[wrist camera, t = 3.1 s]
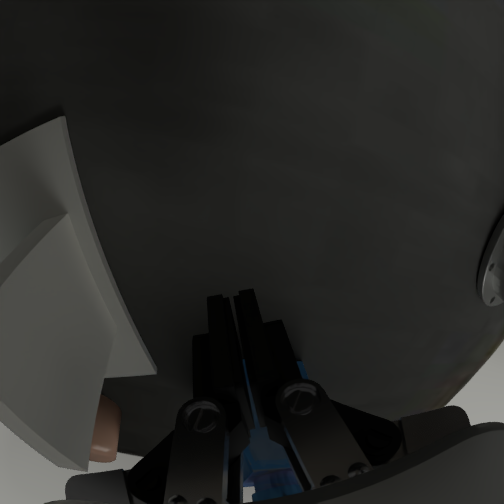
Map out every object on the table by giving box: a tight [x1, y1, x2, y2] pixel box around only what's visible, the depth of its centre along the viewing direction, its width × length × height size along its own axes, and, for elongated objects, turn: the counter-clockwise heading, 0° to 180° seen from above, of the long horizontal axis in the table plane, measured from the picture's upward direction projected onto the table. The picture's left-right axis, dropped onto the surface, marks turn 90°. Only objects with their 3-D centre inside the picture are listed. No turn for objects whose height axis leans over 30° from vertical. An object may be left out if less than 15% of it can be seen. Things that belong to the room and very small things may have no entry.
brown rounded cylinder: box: [89, 394, 121, 463], centre depth 20 cm, size 6×6×5 cm
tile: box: [0, 213, 117, 472], centre depth 11 cm, size 2×8×10 cm, turn 7°
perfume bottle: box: [242, 359, 308, 502], centre depth 17 cm, size 6×6×12 cm
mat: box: [0, 116, 157, 378], centre depth 15 cm, size 14×18×1 cm
